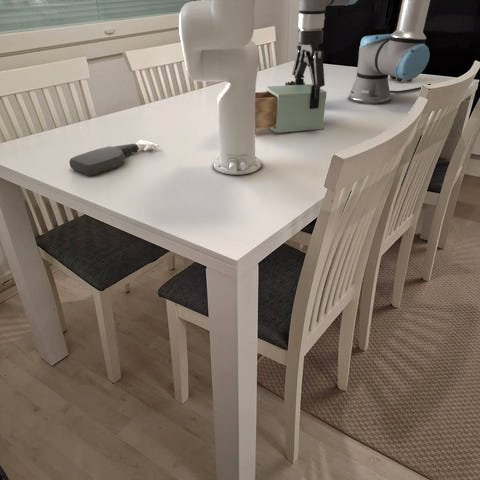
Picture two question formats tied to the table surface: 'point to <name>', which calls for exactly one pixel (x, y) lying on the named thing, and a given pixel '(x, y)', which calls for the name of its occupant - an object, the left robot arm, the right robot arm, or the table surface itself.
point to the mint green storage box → (297, 108)
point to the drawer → (265, 110)
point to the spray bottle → (106, 157)
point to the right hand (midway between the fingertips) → (305, 103)
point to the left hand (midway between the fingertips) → (235, 83)
